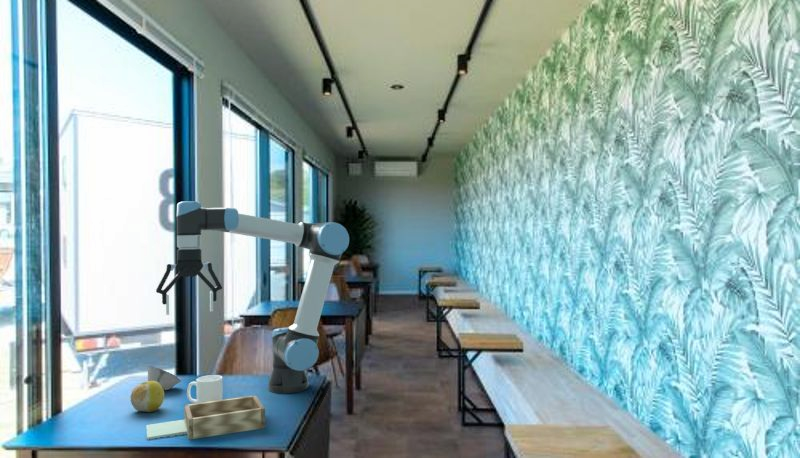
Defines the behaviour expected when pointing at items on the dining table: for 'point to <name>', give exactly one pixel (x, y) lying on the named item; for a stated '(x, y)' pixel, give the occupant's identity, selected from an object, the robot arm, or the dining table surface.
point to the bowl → (162, 377)
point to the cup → (207, 389)
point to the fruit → (147, 396)
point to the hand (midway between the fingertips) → (189, 312)
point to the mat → (166, 429)
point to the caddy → (224, 417)
